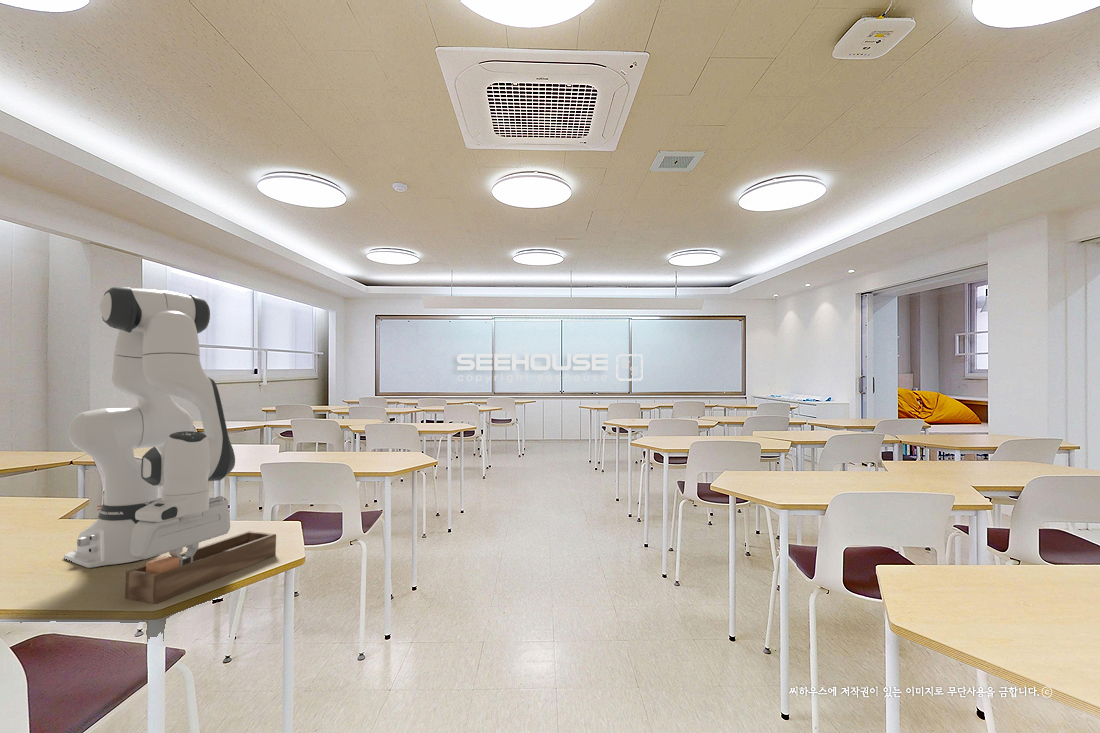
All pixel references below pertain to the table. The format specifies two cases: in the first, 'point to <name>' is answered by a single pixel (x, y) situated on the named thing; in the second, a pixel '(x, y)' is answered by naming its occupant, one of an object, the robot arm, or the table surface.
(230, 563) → the box
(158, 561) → the block
